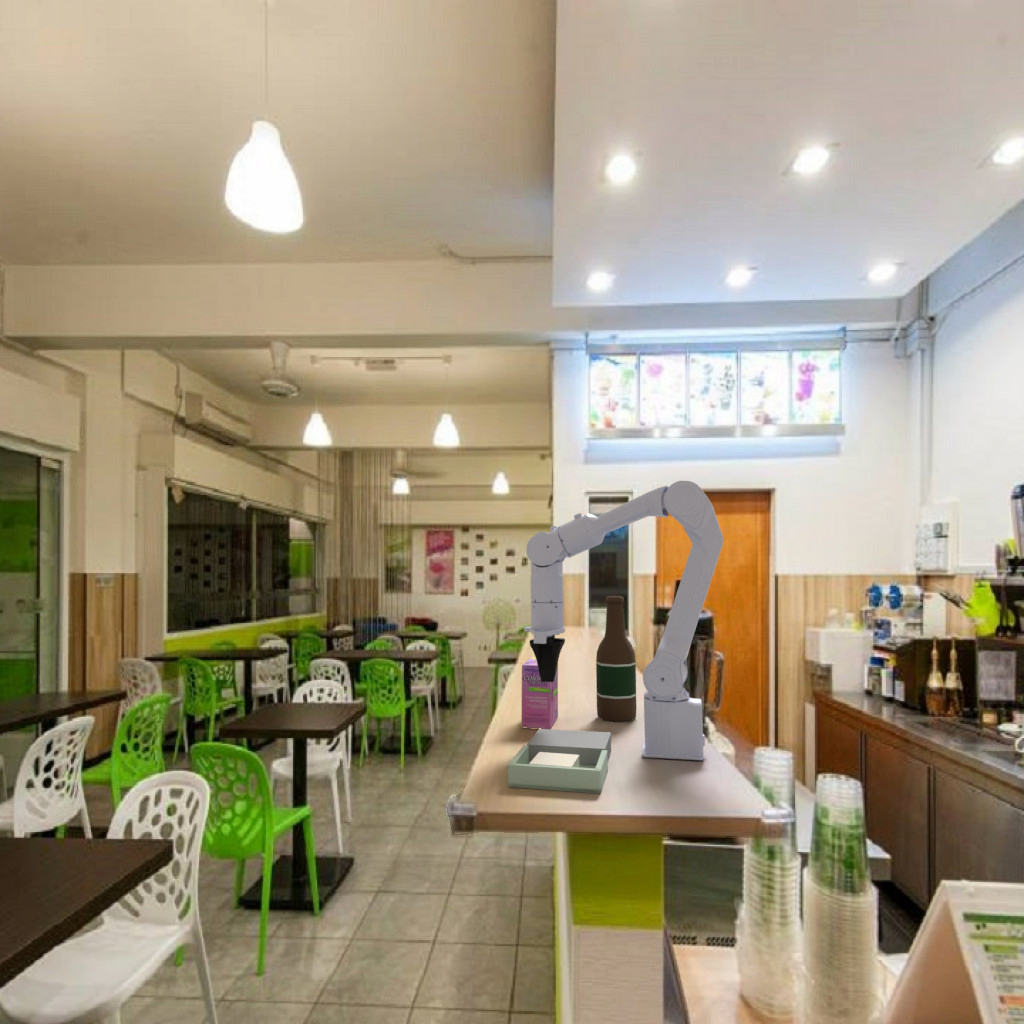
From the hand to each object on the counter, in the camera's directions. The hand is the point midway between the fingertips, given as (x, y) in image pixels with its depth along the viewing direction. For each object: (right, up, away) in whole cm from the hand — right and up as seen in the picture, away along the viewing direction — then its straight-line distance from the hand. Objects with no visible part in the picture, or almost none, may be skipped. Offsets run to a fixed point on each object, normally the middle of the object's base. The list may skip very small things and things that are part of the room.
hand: (547, 681), depth 118 cm
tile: (0, -6, -21) cm, 22 cm away
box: (-1, -12, +14) cm, 18 cm away
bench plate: (+3, -10, -10) cm, 14 cm away
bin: (+1, -9, -20) cm, 22 cm away
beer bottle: (+15, -12, +17) cm, 26 cm away
